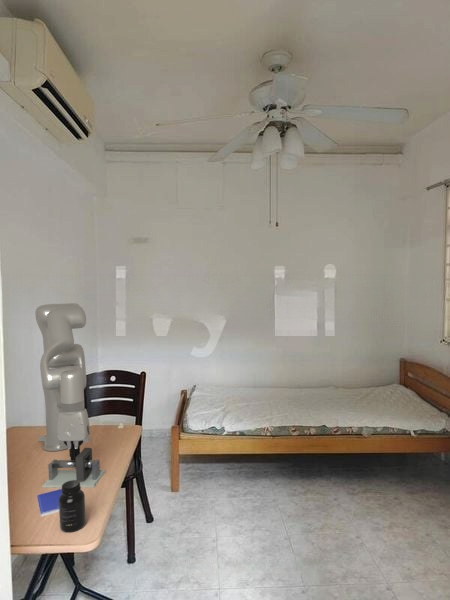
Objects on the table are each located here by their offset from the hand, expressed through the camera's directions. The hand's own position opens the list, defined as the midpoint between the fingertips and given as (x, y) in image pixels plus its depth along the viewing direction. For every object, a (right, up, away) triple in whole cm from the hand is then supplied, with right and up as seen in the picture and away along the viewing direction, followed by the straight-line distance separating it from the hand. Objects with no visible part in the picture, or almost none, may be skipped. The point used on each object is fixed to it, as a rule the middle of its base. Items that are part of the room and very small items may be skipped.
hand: (75, 458), depth 140 cm
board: (0, -7, 0) cm, 7 cm away
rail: (0, -7, 0) cm, 7 cm away
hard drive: (-1, -9, -15) cm, 17 cm away
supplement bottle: (+10, -8, -27) cm, 30 cm away
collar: (+3, -6, 0) cm, 7 cm away
